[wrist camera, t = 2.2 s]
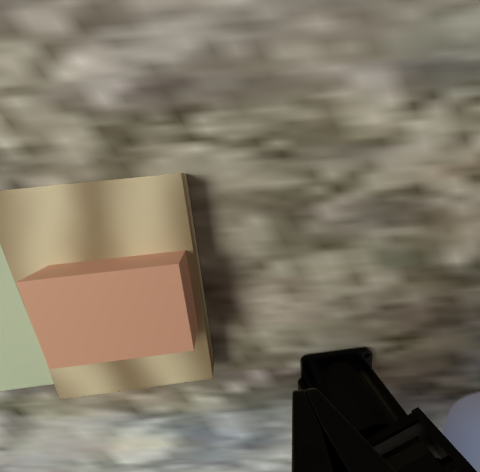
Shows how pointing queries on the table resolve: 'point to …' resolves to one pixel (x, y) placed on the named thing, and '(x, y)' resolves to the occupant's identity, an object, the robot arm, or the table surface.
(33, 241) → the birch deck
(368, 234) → the table surface
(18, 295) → the sage mat
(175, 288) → the coral tile
